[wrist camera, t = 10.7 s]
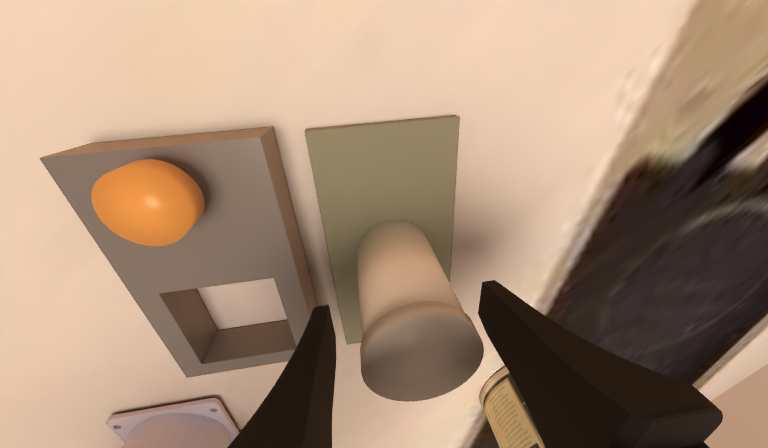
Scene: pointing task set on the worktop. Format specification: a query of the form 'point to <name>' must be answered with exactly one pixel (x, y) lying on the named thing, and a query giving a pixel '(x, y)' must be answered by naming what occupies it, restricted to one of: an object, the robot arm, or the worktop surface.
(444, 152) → the mat
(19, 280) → the worktop surface
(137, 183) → the button
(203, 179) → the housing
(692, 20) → the worktop surface
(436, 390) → the cylinder
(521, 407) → the coffee can
